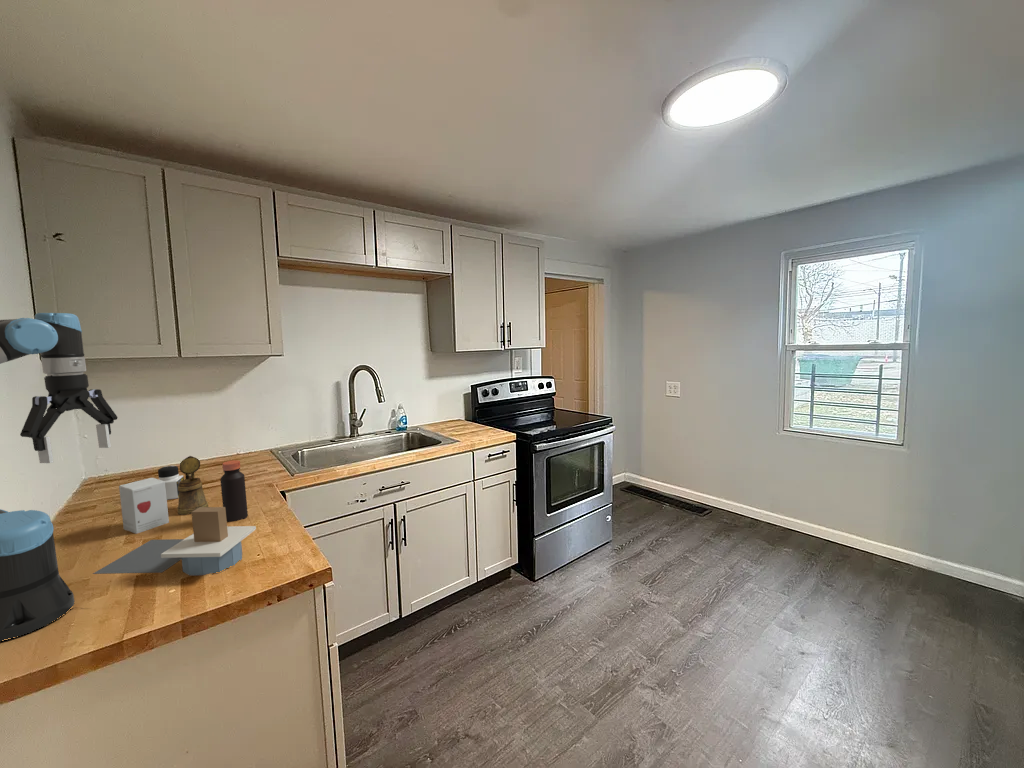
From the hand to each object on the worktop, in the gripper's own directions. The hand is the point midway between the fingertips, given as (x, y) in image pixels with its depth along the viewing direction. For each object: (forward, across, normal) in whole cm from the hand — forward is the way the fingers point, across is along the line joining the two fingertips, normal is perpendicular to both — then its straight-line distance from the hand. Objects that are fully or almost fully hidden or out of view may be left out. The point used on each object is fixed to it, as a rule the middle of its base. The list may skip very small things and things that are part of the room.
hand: (77, 454), depth 107 cm
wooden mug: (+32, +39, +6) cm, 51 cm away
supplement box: (+32, +24, +9) cm, 41 cm away
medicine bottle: (+32, +48, +24) cm, 63 cm away
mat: (+32, +6, -12) cm, 34 cm away
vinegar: (+32, +31, -17) cm, 48 cm away
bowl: (+32, +4, -31) cm, 45 cm away
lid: (+26, +4, -31) cm, 41 cm away
